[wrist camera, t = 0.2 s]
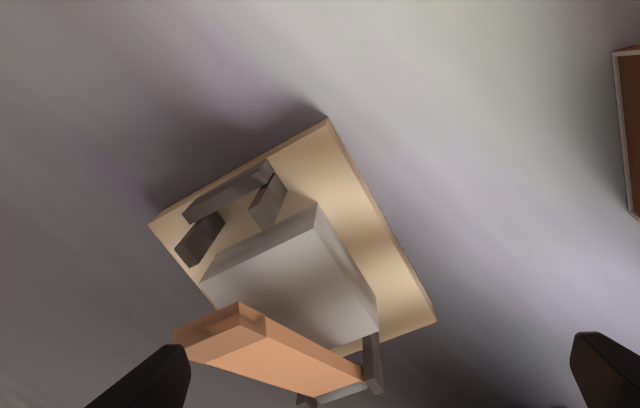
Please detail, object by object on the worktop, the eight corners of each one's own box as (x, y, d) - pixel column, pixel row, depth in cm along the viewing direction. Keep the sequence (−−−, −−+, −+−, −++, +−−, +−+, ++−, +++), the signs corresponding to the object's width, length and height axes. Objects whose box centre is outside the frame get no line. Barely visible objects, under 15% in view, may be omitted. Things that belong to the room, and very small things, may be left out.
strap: (365, 364, 22) (371, 390, 21) (320, 381, 22) (324, 406, 22) (238, 294, 13) (239, 332, 12) (174, 323, 14) (171, 361, 13)
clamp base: (430, 301, 25) (456, 382, 19) (280, 359, 28) (262, 445, 22) (328, 116, 21) (320, 149, 15) (162, 210, 24) (100, 268, 18)
